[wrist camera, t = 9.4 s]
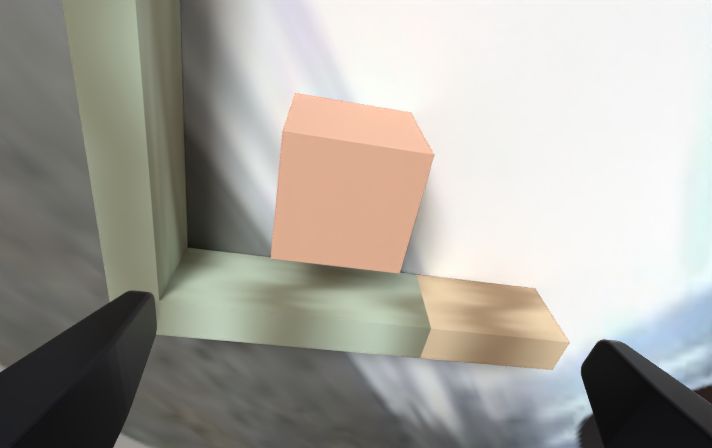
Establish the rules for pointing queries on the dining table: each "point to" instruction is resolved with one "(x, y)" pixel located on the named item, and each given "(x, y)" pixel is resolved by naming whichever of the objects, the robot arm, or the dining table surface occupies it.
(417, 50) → the dining table surface
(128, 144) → the arena
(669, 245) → the dining table surface
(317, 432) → the dining table surface
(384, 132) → the cube
